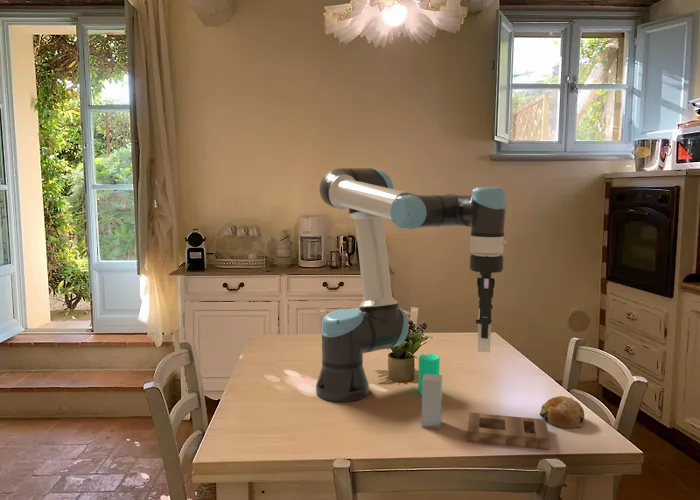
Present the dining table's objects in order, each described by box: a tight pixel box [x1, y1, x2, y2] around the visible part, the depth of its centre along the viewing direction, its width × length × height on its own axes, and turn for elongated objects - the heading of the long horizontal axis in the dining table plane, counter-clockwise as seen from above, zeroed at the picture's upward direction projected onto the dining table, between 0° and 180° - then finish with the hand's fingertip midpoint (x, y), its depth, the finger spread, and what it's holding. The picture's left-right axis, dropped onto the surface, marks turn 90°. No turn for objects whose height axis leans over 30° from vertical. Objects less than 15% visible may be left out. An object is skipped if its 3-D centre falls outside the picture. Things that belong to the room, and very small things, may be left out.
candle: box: [417, 350, 441, 395], centre depth 161 cm, size 6×6×12 cm
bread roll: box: [539, 395, 585, 429], centre depth 142 cm, size 10×10×8 cm
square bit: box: [421, 374, 443, 430], centre depth 139 cm, size 4×4×12 cm
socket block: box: [467, 412, 551, 451], centre depth 134 cm, size 18×11×2 cm, turn 76°
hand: (483, 343), depth 133 cm, fingers open, 13 cm apart
